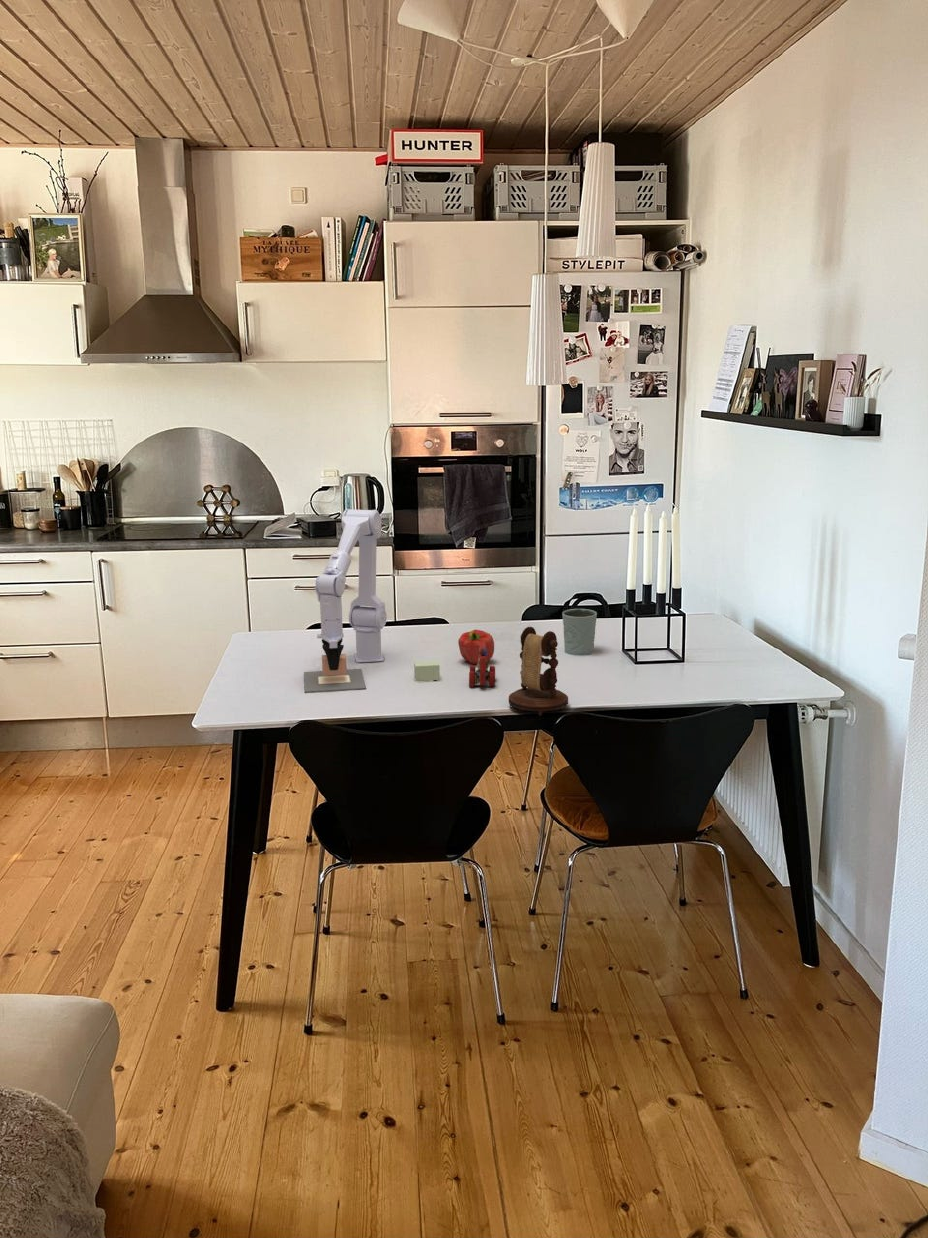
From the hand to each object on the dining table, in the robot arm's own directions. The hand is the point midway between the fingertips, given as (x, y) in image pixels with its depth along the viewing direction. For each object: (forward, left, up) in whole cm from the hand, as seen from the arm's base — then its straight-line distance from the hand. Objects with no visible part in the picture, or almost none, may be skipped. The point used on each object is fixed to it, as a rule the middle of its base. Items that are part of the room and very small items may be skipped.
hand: (333, 667), depth 269 cm
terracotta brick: (0, 0, -2) cm, 2 cm away
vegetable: (-10, +41, -4) cm, 42 cm away
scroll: (+32, +49, -4) cm, 59 cm away
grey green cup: (-15, +73, -4) cm, 75 cm away
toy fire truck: (+10, +39, -4) cm, 40 cm away
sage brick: (+3, +25, -4) cm, 25 cm away
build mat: (0, 0, -4) cm, 4 cm away
